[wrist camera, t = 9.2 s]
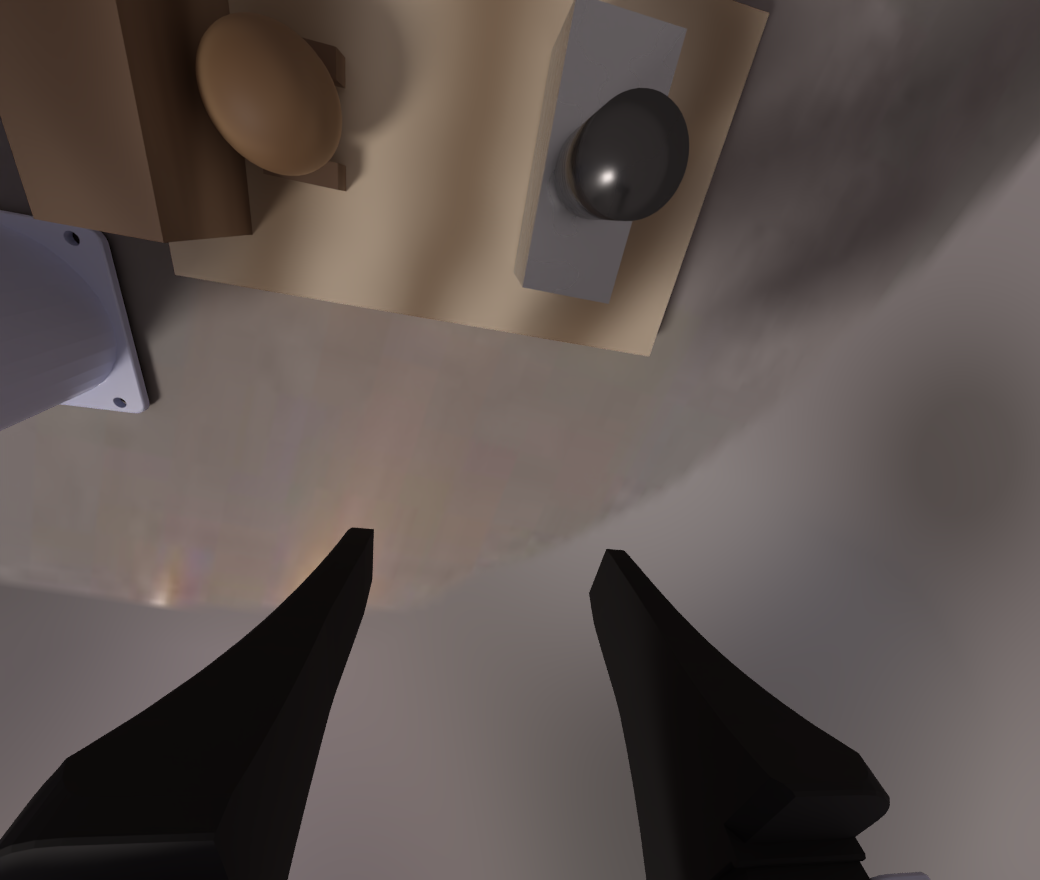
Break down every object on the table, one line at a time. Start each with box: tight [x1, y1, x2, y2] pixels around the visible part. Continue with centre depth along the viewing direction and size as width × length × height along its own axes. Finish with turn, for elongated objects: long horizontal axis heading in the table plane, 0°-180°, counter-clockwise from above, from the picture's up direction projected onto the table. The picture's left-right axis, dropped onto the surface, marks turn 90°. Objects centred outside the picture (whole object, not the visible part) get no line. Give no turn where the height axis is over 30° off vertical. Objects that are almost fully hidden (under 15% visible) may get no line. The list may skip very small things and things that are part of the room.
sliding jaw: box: [514, 0, 689, 304], centre depth 12 cm, size 3×7×8 cm, turn 169°
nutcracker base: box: [0, 0, 769, 356], centre depth 13 cm, size 20×12×6 cm, turn 79°
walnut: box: [195, 12, 342, 176], centre depth 12 cm, size 4×4×4 cm
